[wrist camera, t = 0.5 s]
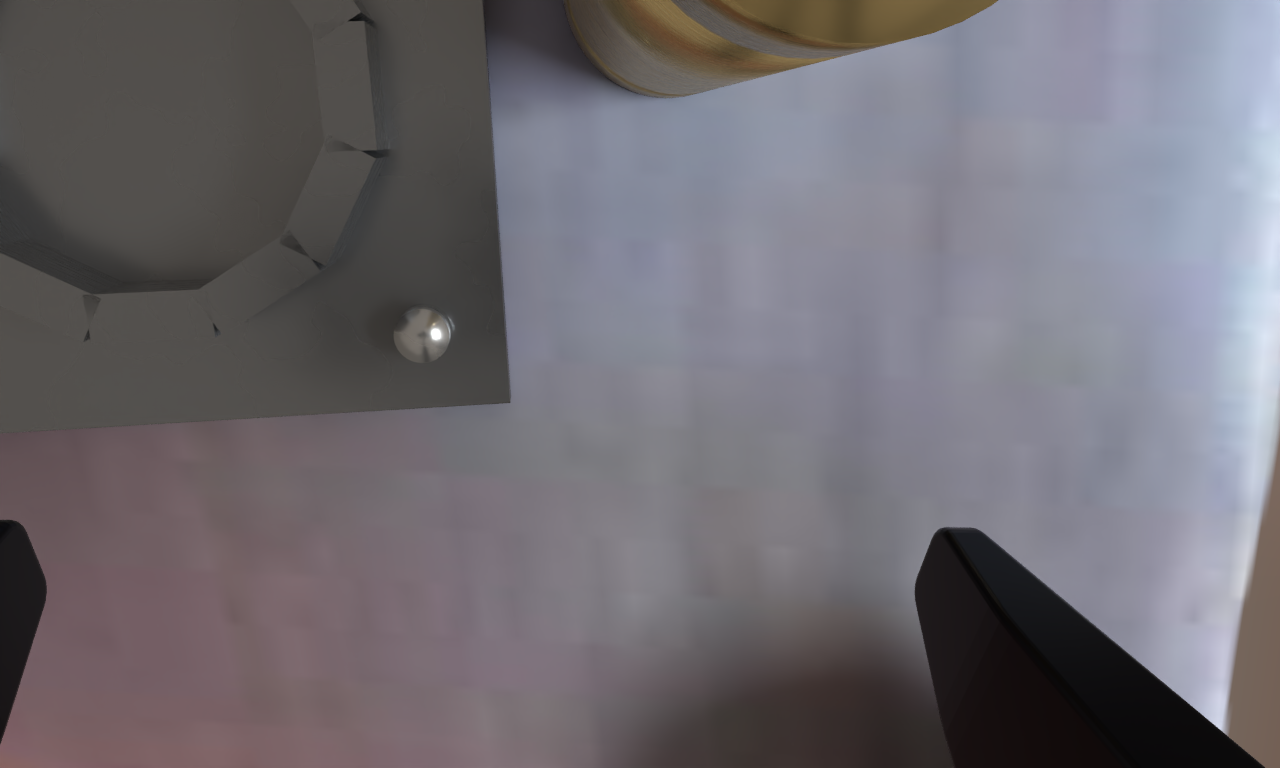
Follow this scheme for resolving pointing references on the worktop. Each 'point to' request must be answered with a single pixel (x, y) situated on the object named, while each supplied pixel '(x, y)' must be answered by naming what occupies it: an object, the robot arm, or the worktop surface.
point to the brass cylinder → (741, 36)
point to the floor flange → (245, 211)
